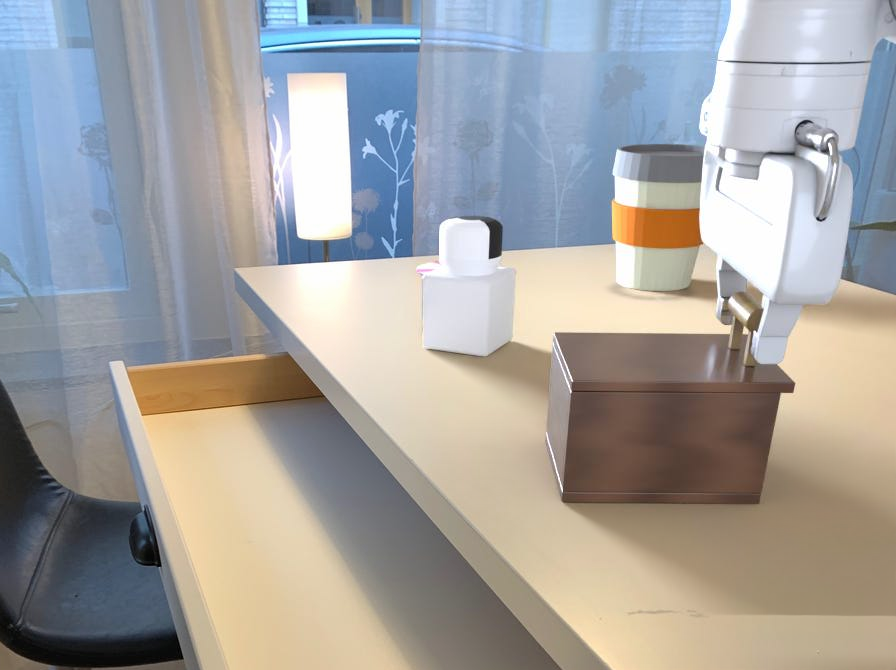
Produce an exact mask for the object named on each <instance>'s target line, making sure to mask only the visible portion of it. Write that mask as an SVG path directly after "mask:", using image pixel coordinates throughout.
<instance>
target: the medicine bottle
mask: <svg viewBox="0 0 896 670" xmlns="http://www.w3.org/2000/svg"><path fill="white" fill-rule="evenodd" d="M503 232H504V226H503V224H502V223H501V221H499V220H497V219H495V218H493V217H491V216H487V215H473V214H472V215H469V214H468V215H454V216H451V217H449V218H447V219H445V220H443V221H442V222H441V224H440V225H439V252H438V253H439V256H438V257H439V258H438V261H439V262H440V263H441V264H442V267H440V268H438V269H436V270H434V271H431V272H429V273H427V274H425V275H422V282H421V283H422V285H421V287H422V289H421V291H422V292H421V295H422V297H421V299H422V300H421V309H422V310H421V346H422V348H423V349H427V350H434V351H442V352H448V353H456V354H463V355H469V356H476V357H488V356H490V355H491V354H492V353H494V352H495V351H497V350H498V349H500V348H501V347H503V346H504V345H506V344H508V343H509V342H510V341H512V340H513V337H514V336H513V335H514V318H515V299H516V281H517V280H516V279H517V278H516V277H517V270H516V269H515V267H510V266H500V265H501V264H502V253H503V235H504V233H503Z"/></svg>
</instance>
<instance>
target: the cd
mask: <svg viewBox="0 0 896 670" xmlns="http://www.w3.org/2000/svg"><path fill="white" fill-rule="evenodd" d="M440 267H442V264H441V263H440V262H439V260H436V261H435V260H434V261H431V262H426V263H422V264H420V265H418V266H417V267H416V272H417V273H419V274H421V275H422V276H424V275H425V274H427V273H429V272H431V271H434V270H436V269H438V268H440Z"/></svg>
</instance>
